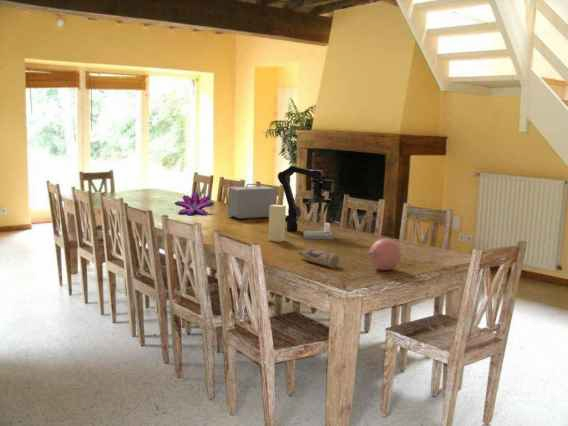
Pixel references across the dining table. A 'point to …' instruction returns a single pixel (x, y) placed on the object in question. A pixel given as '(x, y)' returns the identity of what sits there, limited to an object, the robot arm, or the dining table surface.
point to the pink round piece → (384, 254)
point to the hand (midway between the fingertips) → (316, 214)
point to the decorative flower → (194, 204)
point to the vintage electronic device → (251, 201)
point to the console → (317, 235)
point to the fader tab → (327, 228)
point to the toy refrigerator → (276, 223)
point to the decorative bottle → (321, 257)
